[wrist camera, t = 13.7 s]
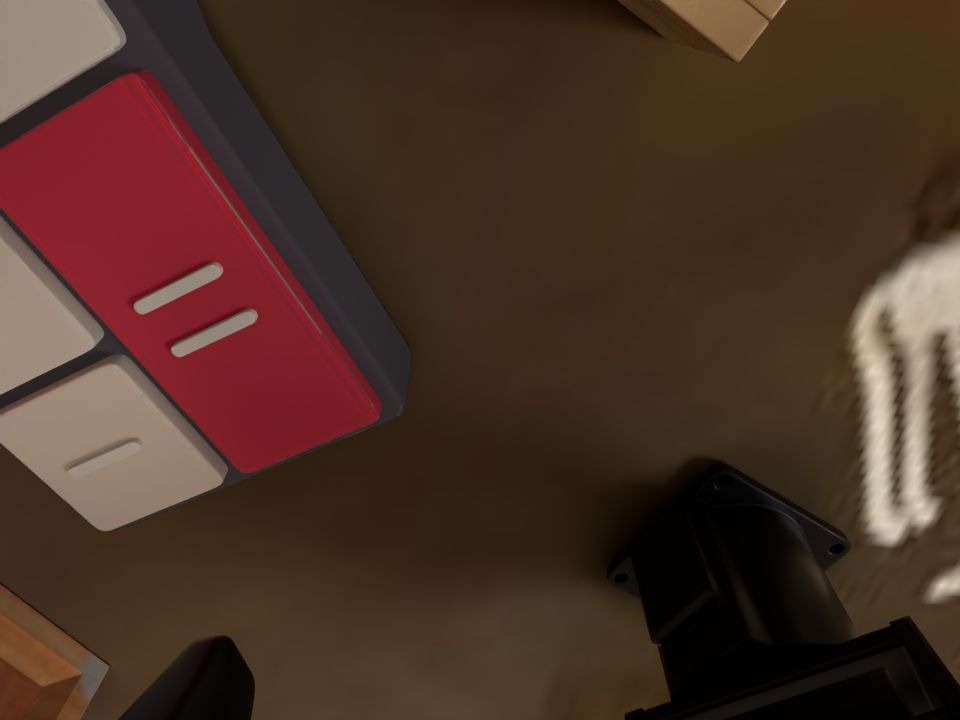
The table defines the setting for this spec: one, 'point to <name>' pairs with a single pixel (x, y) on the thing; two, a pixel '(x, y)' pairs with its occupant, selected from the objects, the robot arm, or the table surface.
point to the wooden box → (42, 666)
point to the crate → (708, 22)
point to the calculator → (165, 270)
